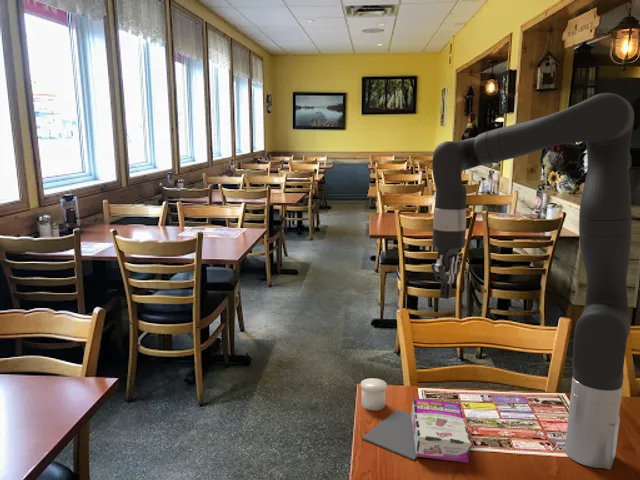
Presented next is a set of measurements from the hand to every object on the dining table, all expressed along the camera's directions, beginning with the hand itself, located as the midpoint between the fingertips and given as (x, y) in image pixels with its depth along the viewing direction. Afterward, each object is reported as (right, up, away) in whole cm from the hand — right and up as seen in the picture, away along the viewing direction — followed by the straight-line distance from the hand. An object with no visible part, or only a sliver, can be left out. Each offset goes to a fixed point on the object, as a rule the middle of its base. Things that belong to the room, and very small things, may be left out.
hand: (445, 297), depth 126 cm
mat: (-11, -30, -7) cm, 33 cm away
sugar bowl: (-17, -28, +7) cm, 33 cm away
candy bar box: (-3, -27, -1) cm, 27 cm away
